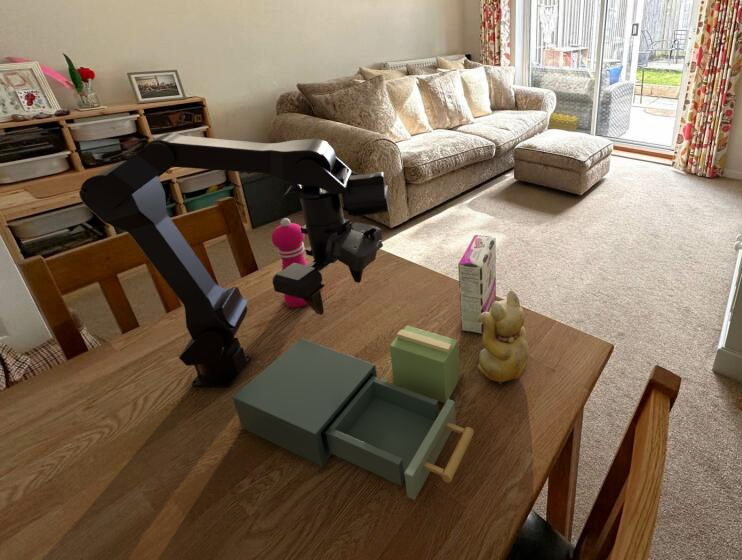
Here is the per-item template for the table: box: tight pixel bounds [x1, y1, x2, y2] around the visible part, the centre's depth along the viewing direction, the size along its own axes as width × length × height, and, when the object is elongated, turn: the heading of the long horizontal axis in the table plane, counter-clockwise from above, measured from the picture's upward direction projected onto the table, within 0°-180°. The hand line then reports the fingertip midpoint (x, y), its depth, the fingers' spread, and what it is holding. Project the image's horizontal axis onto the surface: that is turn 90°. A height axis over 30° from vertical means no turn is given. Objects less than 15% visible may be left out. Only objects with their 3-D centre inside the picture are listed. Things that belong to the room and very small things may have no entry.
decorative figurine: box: [477, 289, 530, 385], centre depth 70 cm, size 10×8×15 cm
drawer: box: [325, 376, 475, 501], centre depth 58 cm, size 19×11×5 cm, turn 70°
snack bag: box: [389, 325, 460, 404], centre depth 68 cm, size 5×10×10 cm, turn 71°
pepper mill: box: [271, 217, 309, 308], centre depth 86 cm, size 7×7×20 cm
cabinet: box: [232, 338, 378, 467], centre depth 63 cm, size 16×13×7 cm
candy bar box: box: [457, 234, 497, 335], centre depth 83 cm, size 11×5×16 cm, turn 168°
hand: (340, 297), depth 71 cm, fingers open, 9 cm apart
